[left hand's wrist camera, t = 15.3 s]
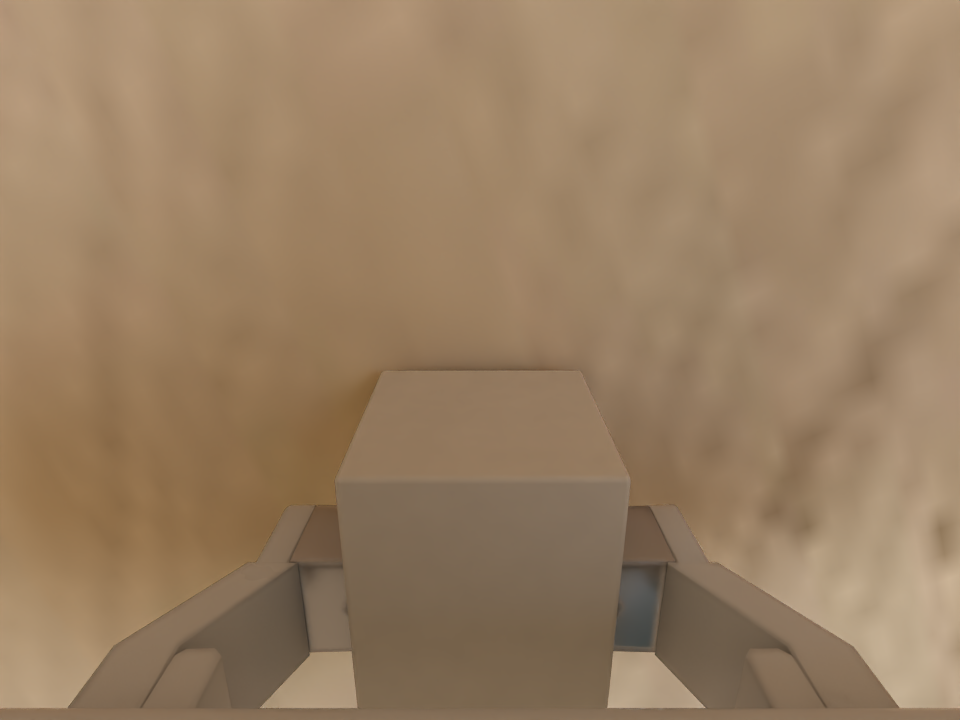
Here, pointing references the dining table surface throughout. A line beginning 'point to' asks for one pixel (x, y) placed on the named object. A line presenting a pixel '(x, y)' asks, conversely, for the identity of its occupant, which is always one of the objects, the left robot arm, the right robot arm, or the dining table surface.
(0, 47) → the dining table surface
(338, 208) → the dining table surface
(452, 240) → the dining table surface
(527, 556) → the light grey cube
